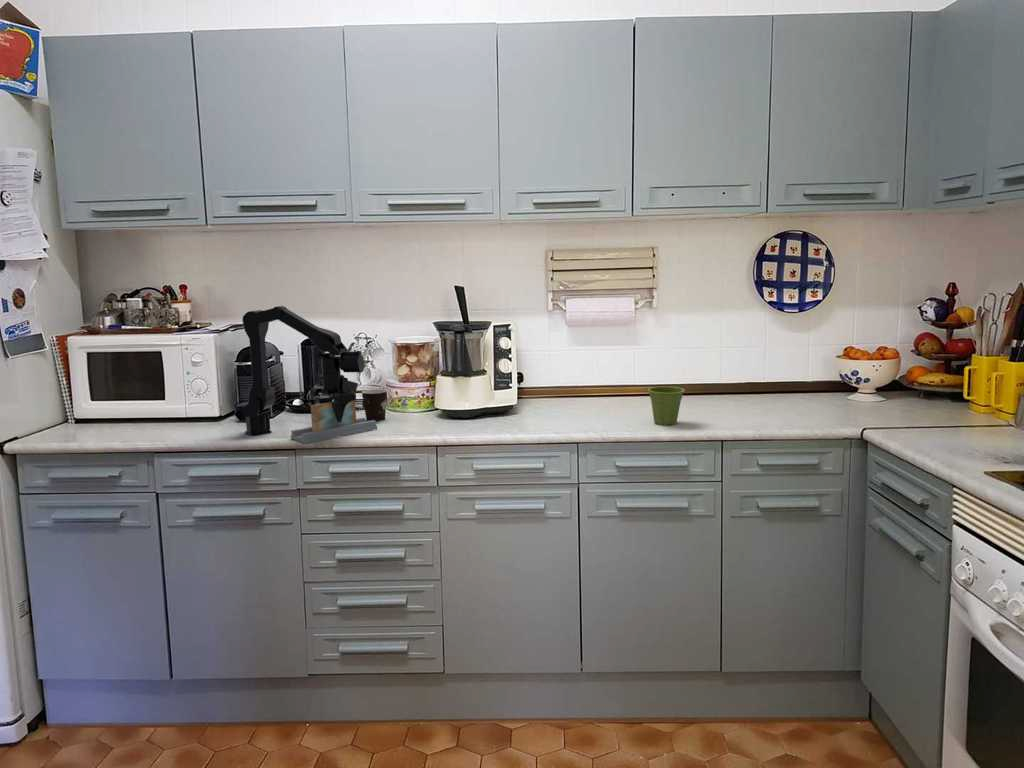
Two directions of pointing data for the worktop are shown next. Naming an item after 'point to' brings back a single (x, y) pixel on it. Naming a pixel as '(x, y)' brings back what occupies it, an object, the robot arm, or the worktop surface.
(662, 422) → the plant pot
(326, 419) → the tan rectangular block
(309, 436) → the rail
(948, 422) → the worktop surface
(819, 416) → the worktop surface
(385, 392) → the coffee mug
